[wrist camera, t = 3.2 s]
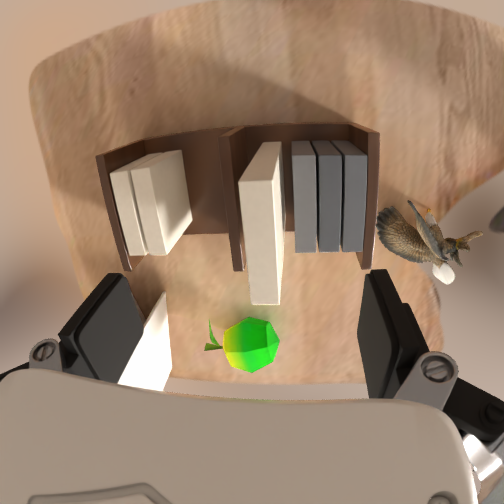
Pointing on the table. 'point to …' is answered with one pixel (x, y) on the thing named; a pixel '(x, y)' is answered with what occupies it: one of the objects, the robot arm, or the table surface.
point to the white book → (264, 222)
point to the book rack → (237, 177)
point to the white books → (152, 202)
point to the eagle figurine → (421, 241)
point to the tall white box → (151, 351)
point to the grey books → (329, 196)
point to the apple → (248, 344)
